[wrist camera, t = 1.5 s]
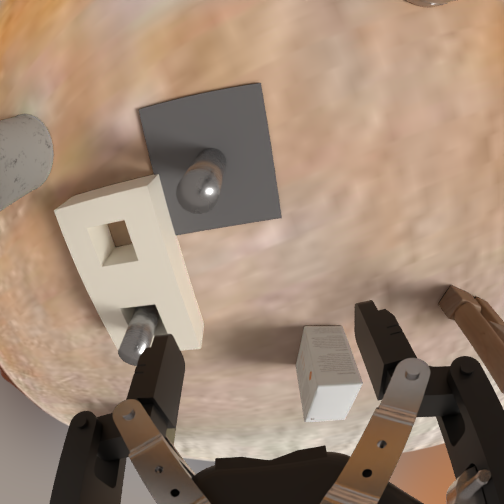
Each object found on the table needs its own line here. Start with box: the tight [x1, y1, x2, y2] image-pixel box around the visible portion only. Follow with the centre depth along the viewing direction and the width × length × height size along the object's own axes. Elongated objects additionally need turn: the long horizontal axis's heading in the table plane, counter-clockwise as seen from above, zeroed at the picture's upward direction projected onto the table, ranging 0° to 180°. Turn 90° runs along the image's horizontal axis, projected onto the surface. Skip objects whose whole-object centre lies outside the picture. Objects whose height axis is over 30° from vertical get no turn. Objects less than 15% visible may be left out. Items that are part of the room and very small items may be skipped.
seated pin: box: [118, 304, 160, 366], centre depth 34 cm, size 3×3×10 cm
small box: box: [296, 326, 363, 422], centre depth 38 cm, size 8×6×10 cm
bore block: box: [54, 174, 204, 351], centre depth 34 cm, size 20×11×4 cm, turn 9°
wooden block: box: [439, 286, 504, 393], centre depth 33 cm, size 4×11×18 cm, turn 68°
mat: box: [139, 83, 282, 236], centre depth 30 cm, size 14×12×1 cm
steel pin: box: [176, 148, 227, 214], centre depth 26 cm, size 3×3×10 cm
